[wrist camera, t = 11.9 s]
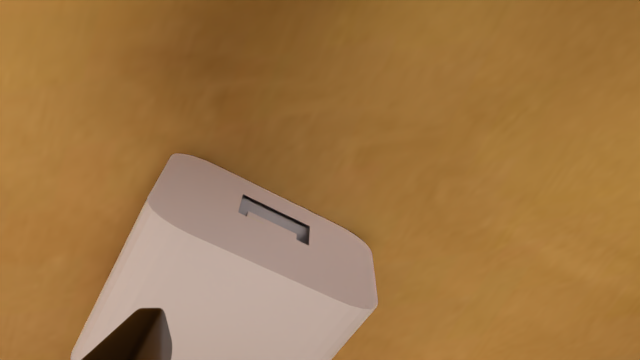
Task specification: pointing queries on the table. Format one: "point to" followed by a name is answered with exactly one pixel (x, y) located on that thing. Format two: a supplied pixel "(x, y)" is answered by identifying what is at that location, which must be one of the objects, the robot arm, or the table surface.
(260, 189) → the charger
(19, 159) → the table surface
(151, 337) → the robot arm
